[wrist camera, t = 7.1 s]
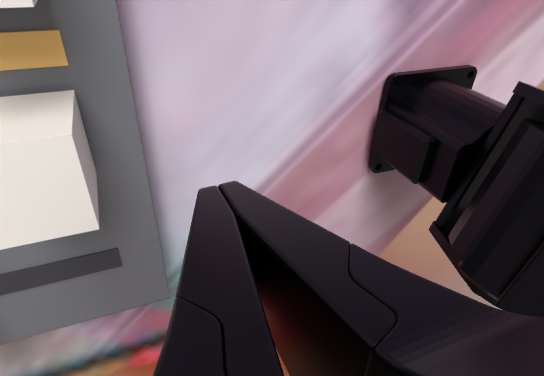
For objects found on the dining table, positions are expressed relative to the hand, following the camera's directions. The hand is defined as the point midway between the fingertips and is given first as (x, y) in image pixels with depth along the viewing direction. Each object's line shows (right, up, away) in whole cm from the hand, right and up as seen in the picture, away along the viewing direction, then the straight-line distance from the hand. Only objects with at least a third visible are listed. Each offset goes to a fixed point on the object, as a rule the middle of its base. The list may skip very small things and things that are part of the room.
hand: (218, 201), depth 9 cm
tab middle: (-8, +2, +6) cm, 10 cm away
